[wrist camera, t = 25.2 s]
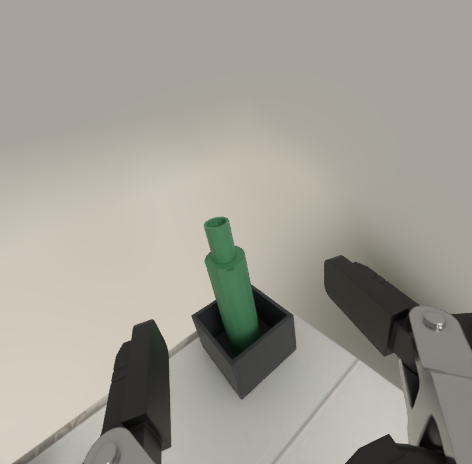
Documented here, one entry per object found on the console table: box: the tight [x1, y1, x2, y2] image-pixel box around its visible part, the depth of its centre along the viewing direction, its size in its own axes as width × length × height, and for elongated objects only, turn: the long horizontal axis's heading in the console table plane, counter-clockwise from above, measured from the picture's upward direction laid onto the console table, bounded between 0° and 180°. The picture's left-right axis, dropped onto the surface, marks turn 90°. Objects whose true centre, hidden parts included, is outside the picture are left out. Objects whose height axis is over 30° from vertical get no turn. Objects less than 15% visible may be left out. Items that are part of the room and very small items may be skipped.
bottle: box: [204, 217, 261, 357], centre depth 34 cm, size 5×5×23 cm
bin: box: [192, 285, 296, 399], centre depth 38 cm, size 11×11×8 cm
